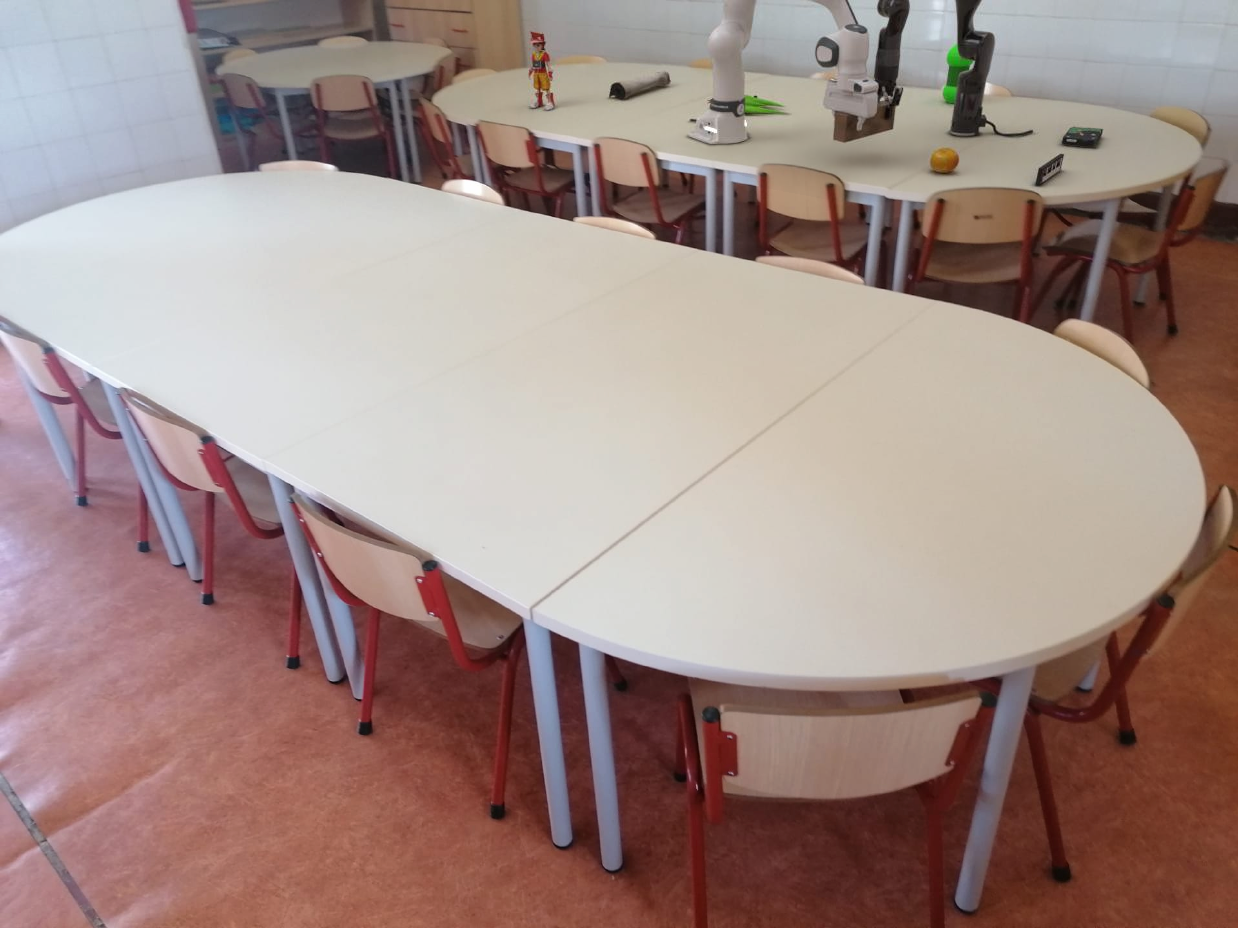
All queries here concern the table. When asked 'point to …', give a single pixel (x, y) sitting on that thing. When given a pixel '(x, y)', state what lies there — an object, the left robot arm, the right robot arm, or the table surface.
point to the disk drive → (1082, 136)
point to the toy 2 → (754, 105)
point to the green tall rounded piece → (954, 73)
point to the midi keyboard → (1049, 169)
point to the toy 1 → (541, 71)
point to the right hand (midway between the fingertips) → (881, 117)
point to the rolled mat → (638, 84)
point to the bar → (871, 126)
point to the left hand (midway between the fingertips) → (847, 127)
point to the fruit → (944, 160)
